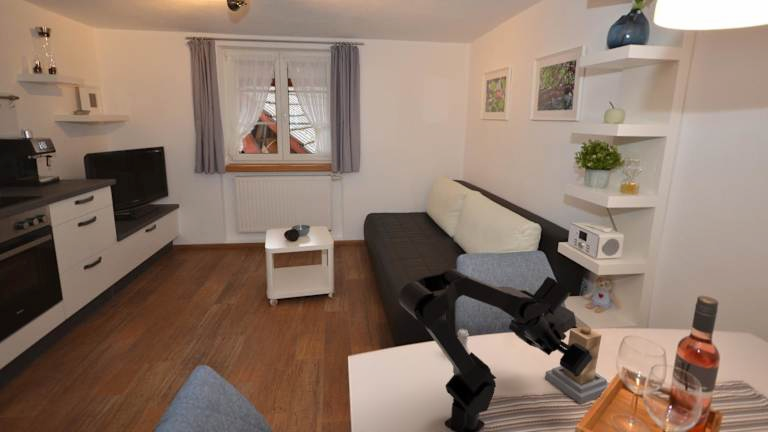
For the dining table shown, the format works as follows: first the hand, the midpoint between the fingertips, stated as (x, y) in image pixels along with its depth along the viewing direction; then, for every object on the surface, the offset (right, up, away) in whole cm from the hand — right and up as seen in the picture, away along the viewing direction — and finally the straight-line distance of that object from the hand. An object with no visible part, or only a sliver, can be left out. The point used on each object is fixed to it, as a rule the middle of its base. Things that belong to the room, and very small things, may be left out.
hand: (565, 359), depth 103 cm
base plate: (+5, -8, +5) cm, 11 cm away
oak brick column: (+5, -6, +4) cm, 9 cm away
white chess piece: (-23, -5, +16) cm, 28 cm away
